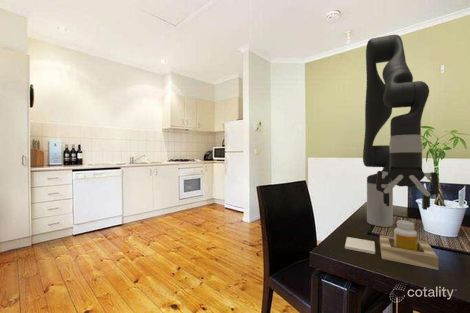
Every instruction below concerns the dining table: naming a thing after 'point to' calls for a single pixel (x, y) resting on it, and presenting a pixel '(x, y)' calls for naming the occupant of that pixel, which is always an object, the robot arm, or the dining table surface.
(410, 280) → the dining table surface
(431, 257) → the oak holder
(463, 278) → the dining table surface
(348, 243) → the cream tile
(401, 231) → the supplement bottle
